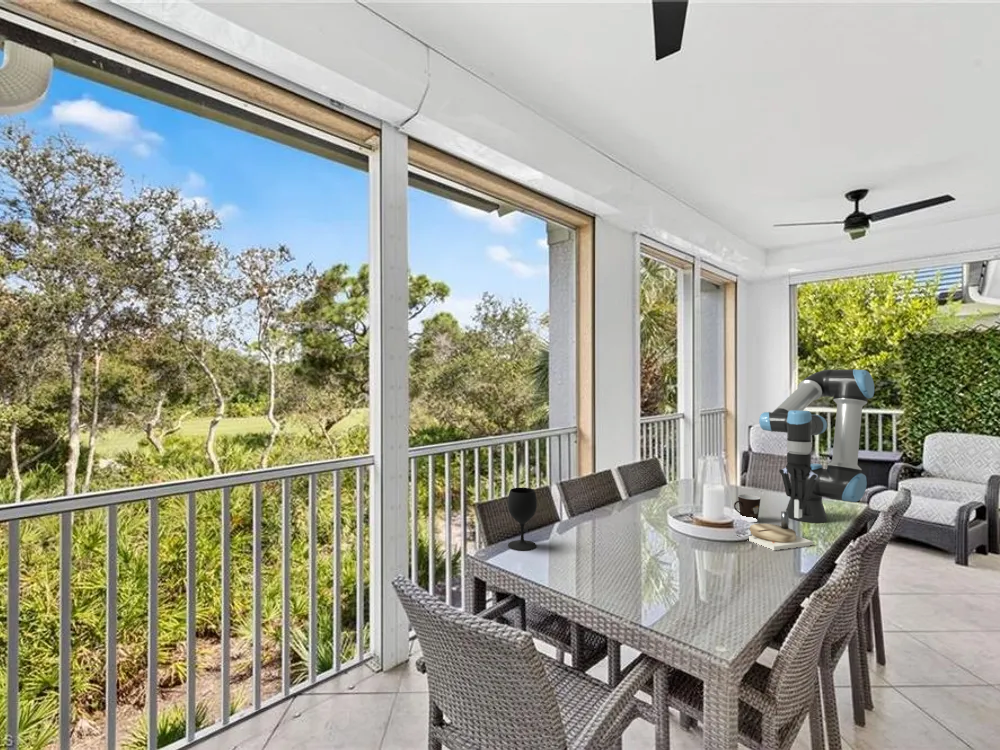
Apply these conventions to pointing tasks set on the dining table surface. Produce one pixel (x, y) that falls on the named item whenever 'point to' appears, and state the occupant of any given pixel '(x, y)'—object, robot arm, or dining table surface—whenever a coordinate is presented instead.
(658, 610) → the dining table surface
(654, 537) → the dining table surface
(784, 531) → the dial
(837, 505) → the dining table surface
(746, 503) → the coffee mug
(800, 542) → the base plate
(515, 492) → the wine glass
